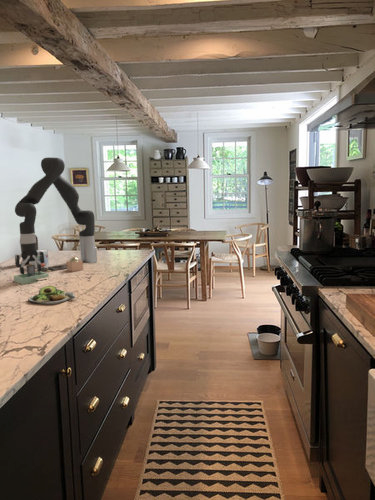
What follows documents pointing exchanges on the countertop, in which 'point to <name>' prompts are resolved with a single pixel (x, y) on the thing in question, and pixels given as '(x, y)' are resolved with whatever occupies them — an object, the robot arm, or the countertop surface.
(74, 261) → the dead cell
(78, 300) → the countertop surface
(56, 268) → the bulb tester base
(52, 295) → the salad plate
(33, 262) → the light bulb box
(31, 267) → the grey cell
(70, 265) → the tan square box
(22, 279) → the green trough
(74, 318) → the countertop surface
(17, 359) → the countertop surface
